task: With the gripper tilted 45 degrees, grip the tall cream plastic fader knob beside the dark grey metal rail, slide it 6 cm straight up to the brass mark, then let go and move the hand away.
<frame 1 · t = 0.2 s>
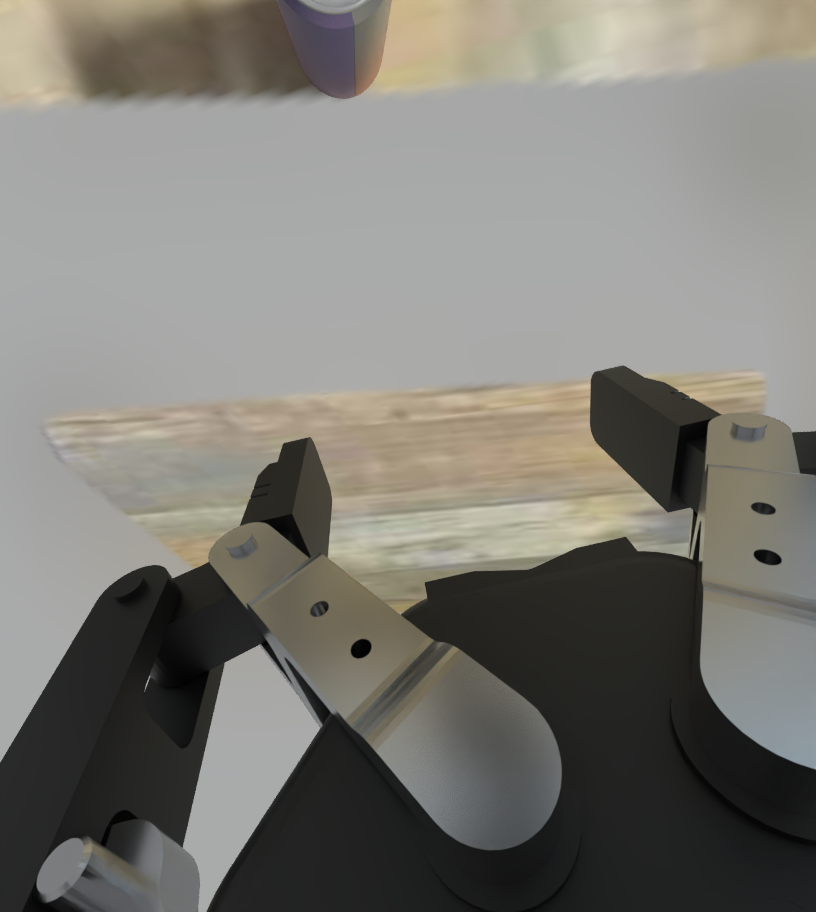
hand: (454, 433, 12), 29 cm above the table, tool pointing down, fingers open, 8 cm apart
beverage can: (339, 46, 30), on the table
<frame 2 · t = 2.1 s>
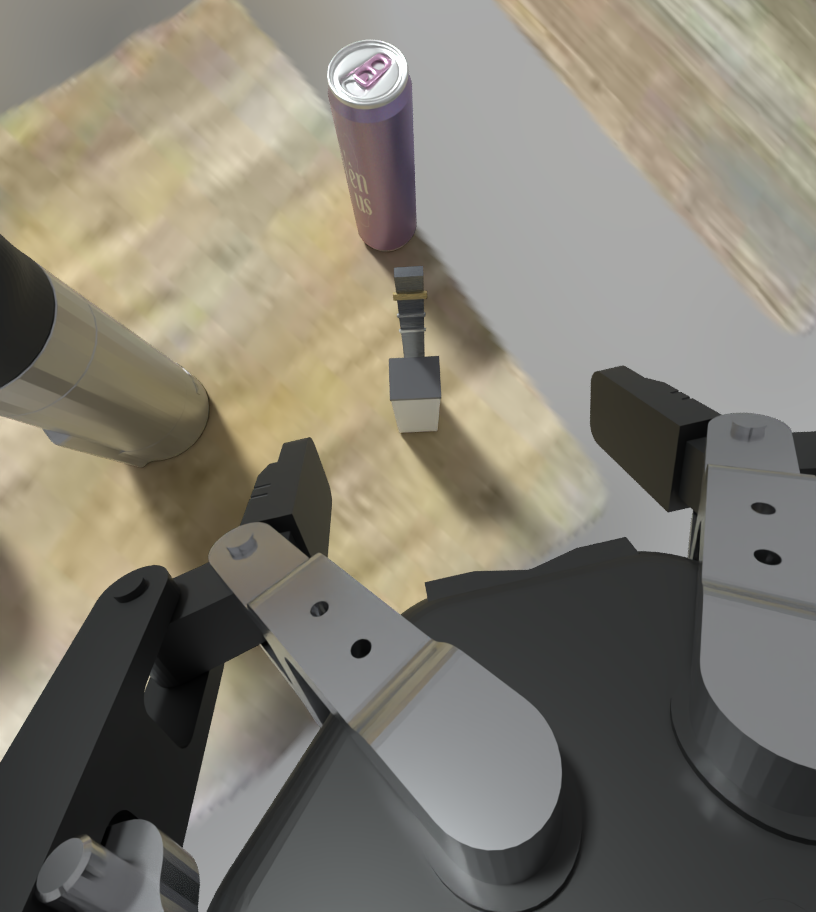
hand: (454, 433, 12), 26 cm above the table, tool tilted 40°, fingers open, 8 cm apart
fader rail: (417, 416, 40), on the table
beverage can: (387, 230, 44), on the table
fader knob: (416, 399, 35), point 5 cm above the table, slide at 0.0 cm
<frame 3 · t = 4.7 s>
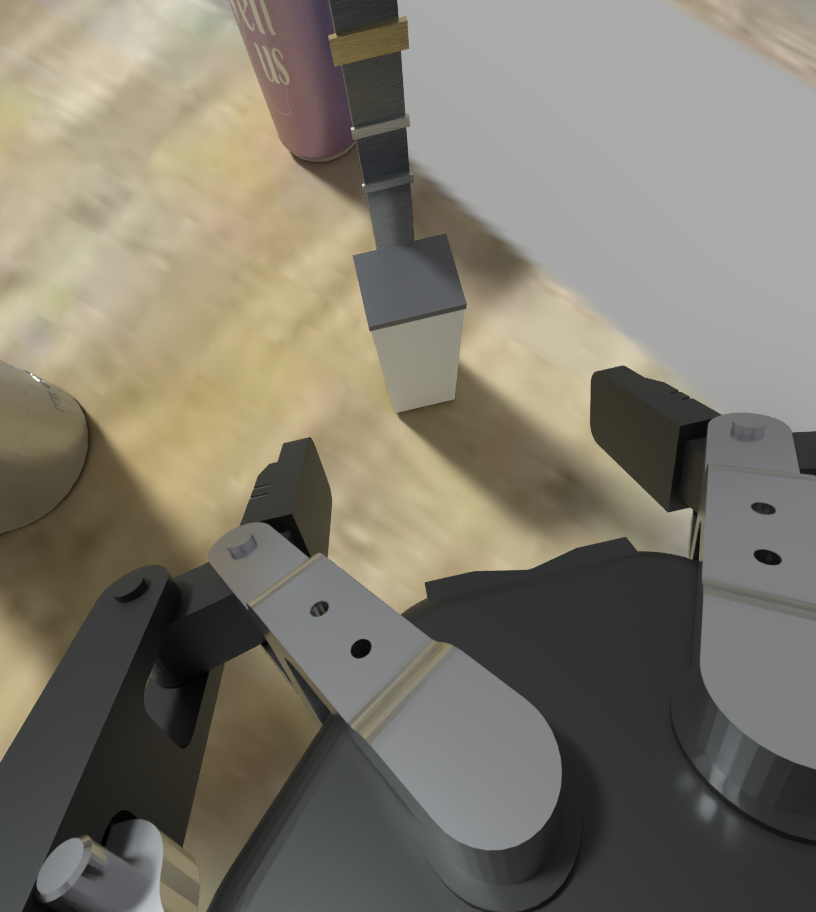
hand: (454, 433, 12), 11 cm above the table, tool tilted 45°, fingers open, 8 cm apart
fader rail: (418, 383, 25), on the table
beverage can: (323, 135, 30), on the table
fader knob: (414, 342, 20), point 5 cm above the table, slide at 0.0 cm
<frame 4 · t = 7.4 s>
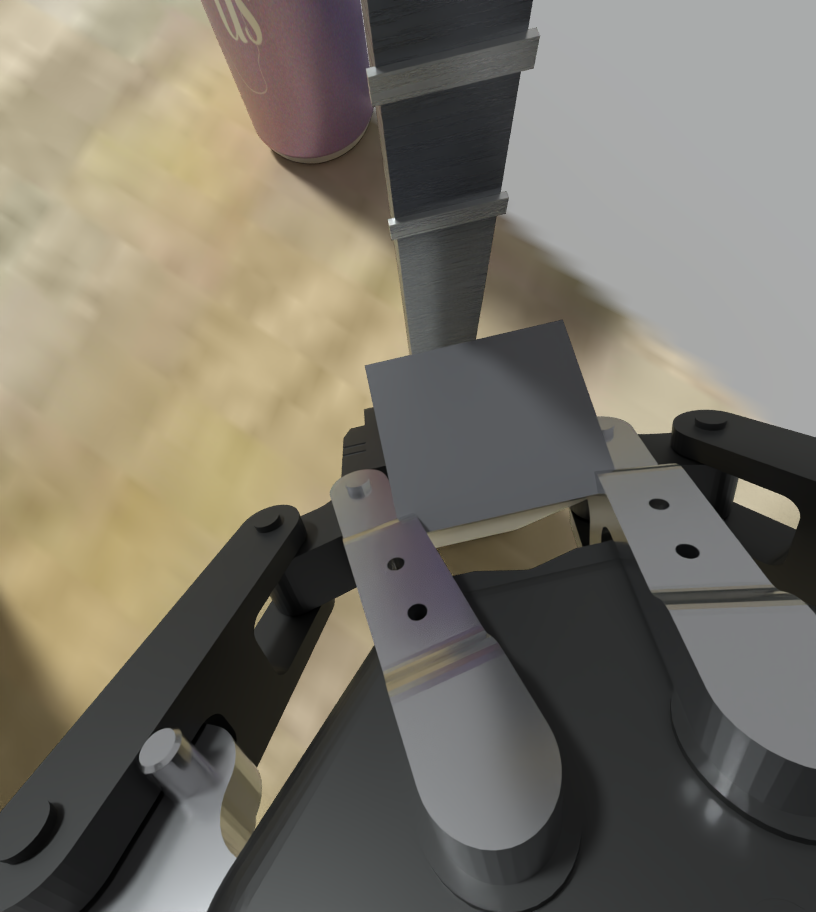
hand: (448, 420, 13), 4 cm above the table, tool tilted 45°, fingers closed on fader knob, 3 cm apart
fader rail: (459, 501, 16), on the table
beverage can: (318, 126, 22), on the table
fader knob: (467, 477, 12), point 5 cm above the table, slide at 0.0 cm, touching gripper
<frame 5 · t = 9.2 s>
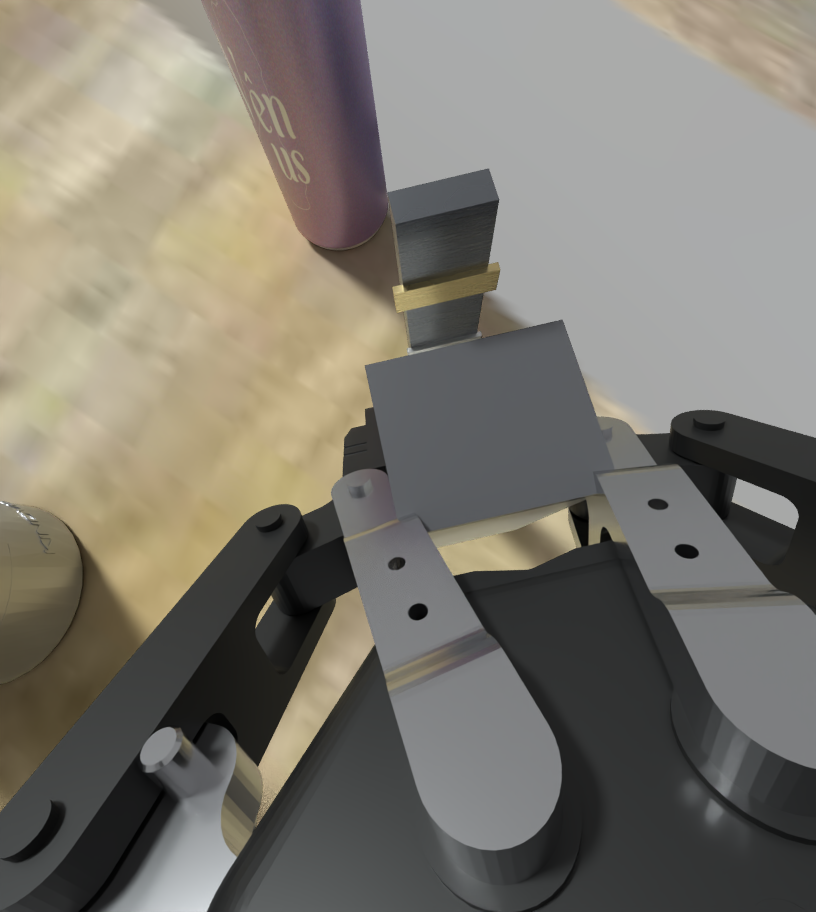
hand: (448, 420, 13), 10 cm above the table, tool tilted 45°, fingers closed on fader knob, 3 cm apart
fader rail: (453, 517, 22), on the table
beverage can: (343, 218, 27), on the table
fader knob: (467, 477, 12), point 11 cm above the table, slide at 5.9 cm, touching gripper
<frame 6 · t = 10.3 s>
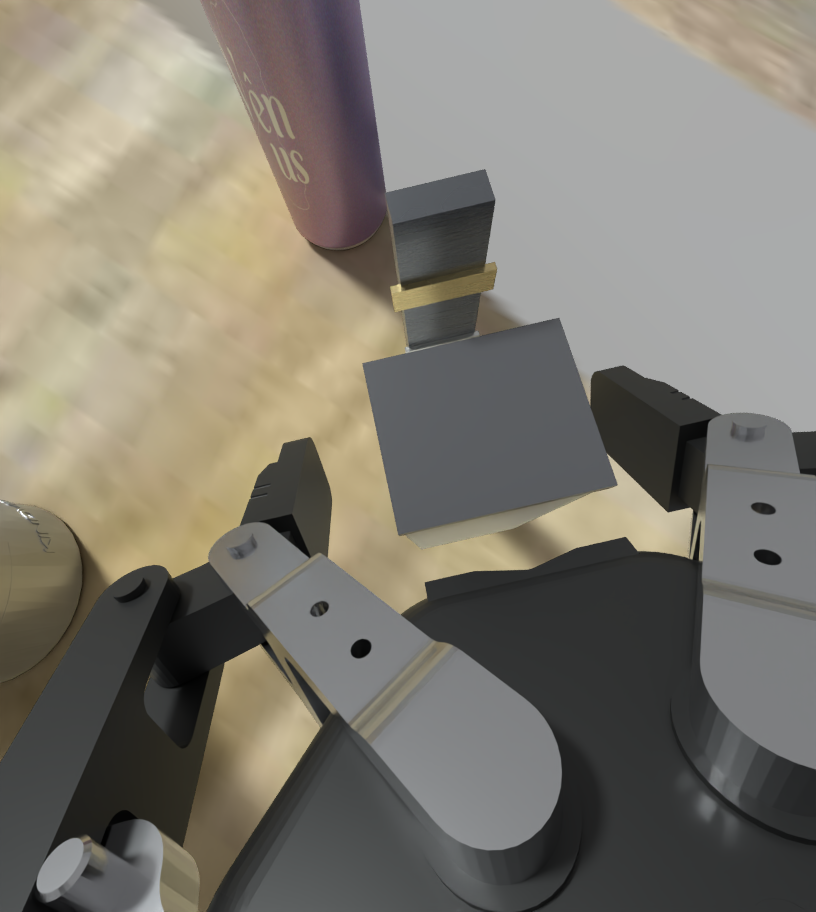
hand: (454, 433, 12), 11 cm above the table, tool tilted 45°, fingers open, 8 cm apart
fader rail: (452, 516, 22), on the table
beverage can: (342, 218, 28), on the table
fader knob: (465, 475, 12), point 11 cm above the table, slide at 6.0 cm
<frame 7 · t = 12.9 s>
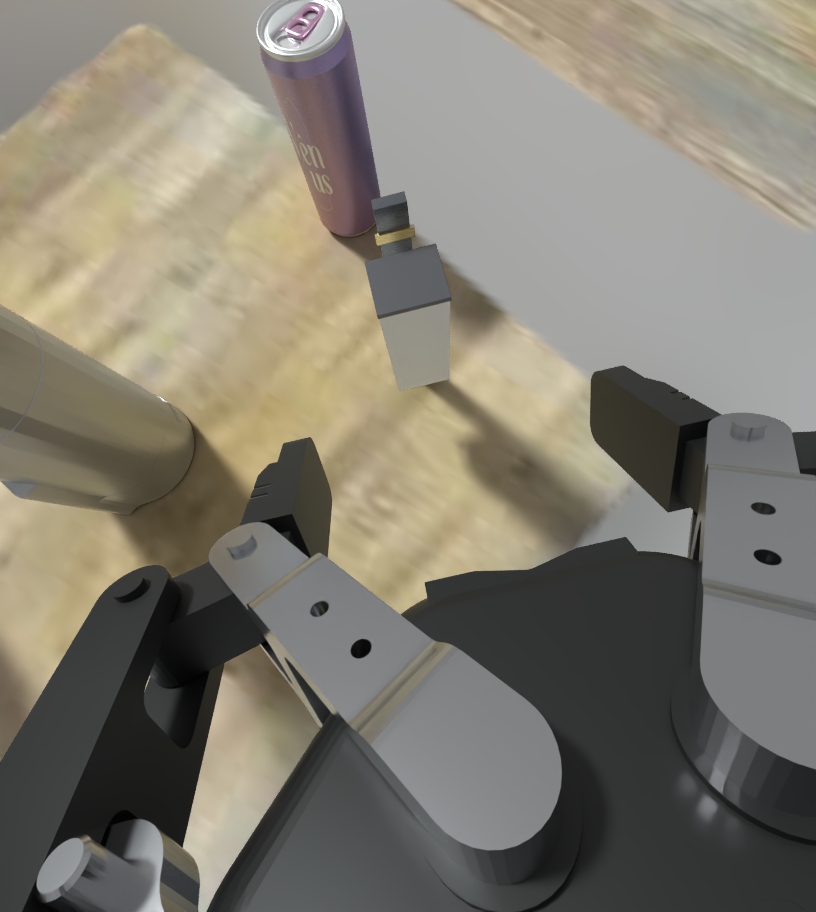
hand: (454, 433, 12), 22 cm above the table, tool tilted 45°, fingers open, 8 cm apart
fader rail: (424, 399, 36), on the table
beverage can: (352, 215, 41), on the table
fader knob: (414, 330, 25), point 11 cm above the table, slide at 6.0 cm
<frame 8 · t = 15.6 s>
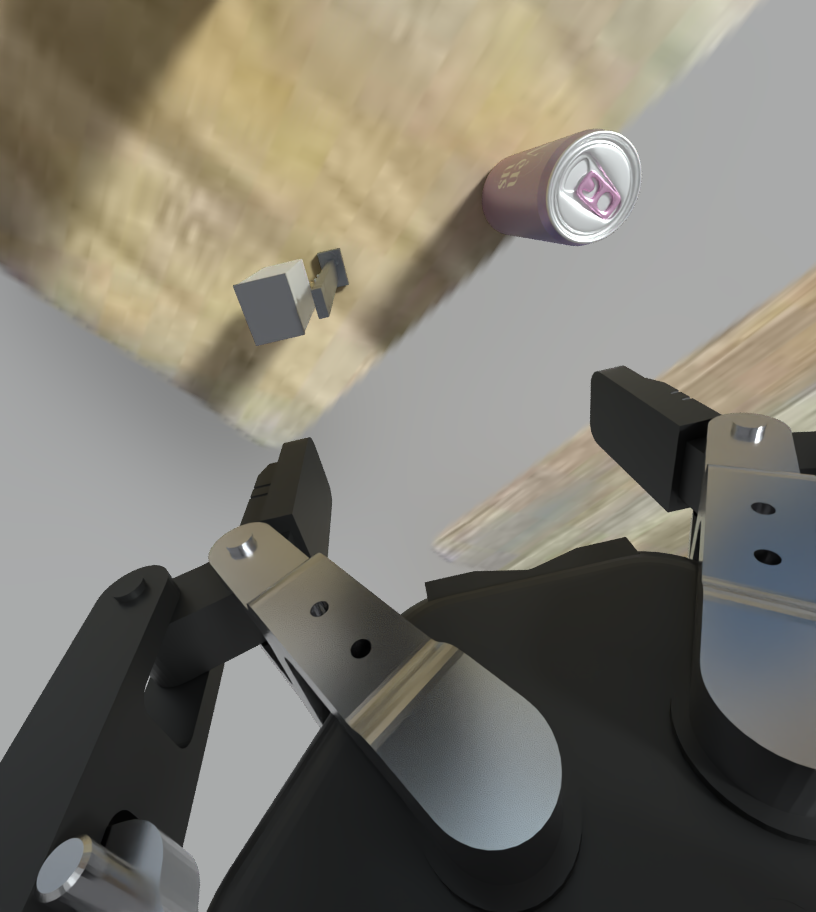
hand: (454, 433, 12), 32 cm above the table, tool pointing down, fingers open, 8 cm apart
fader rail: (299, 276, 39), on the table
beverage can: (512, 196, 38), on the table
fader knob: (281, 297, 30), point 11 cm above the table, slide at 6.0 cm
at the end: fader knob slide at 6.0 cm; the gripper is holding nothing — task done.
